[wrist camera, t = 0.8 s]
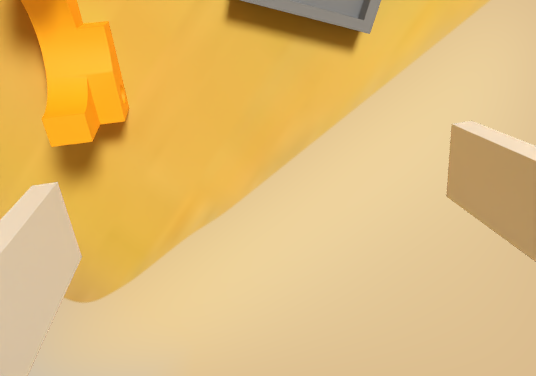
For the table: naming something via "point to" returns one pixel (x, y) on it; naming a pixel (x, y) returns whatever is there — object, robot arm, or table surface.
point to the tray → (330, 11)
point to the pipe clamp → (77, 72)
